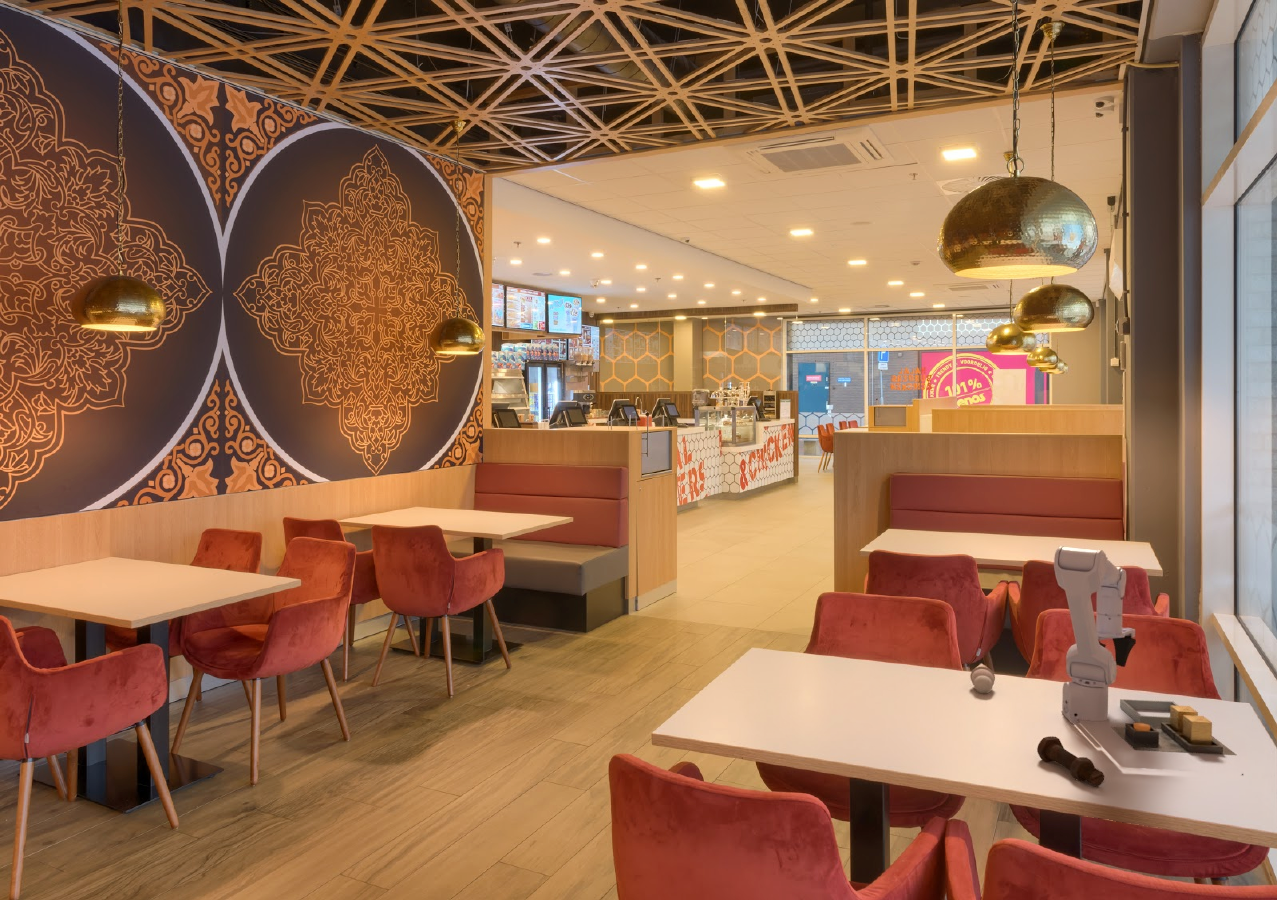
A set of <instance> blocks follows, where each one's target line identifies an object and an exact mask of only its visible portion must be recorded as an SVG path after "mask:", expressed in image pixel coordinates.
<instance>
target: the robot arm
mask: <svg viewBox="0 0 1277 900" xmlns="http://www.w3.org/2000/svg"><path fill="white" fill-rule="evenodd" d="M1053 560H1054V561H1053V568H1054V569H1053V570H1054V574H1055V579H1056V581H1057V582H1056V583H1057V585H1058V586H1059V587H1060V588H1061V589H1063V590H1064V592H1065V595H1066V600H1067V605H1068V609H1069V615H1070V620H1071V625H1072V630H1073V635H1074V638H1075V639H1074V640H1075V643H1074V644H1072V645H1071V646H1069V648H1068V650H1067V653H1066V656H1065V659H1066V661H1065V662H1066V663H1065V664H1066V666H1065V667H1066V668H1065V669H1066V674H1067V675H1068V677H1069V678H1071V681H1066V682H1063V685H1062V703H1061V704H1062V710H1061V711H1060V712H1061V714H1062V715H1063V716H1064V717H1065V718H1066V720H1067V721H1068V722H1070V724H1074V725H1075V724H1076V723H1081V722H1080V721H1079V720H1084V721H1091V722H1103V721H1107V720H1108V719H1109V686H1111V685H1113V684H1114V683H1115V681H1116V678H1117V673H1118V672H1117V671H1118V667H1117V666H1120V667H1121V668H1122V667H1123V668H1125V667H1126V665H1127V661H1128V658H1129V655H1130V653H1131V651H1132V649H1133V647H1134V646H1135V645H1136V644H1137V639H1135V637H1136V629H1135V628H1132V627H1123V602H1124V601H1123V600H1124V599H1123V598H1124V597H1125V593H1126V592H1125V591H1126V585H1127V571H1126V569H1123V567H1122V566H1115V564H1113V563H1112V562H1111V560H1109V559H1108V557H1107V554H1106V552H1105V551H1104V550H1102V549H1086V548H1078V547H1067V546H1066V547H1065V546H1058V548H1057V549H1056V550H1055V553H1054V557H1053ZM1094 593H1096V618H1095V612H1094V608H1093V602H1092V597H1091V596H1092V594H1094ZM1111 639H1112V642H1113V645H1114V652H1115V655H1114V656H1113V652H1112V651H1110V650H1109V649H1108V648H1106V646H1107V645H1106V644H1105V643H1102V642H1101V641H1102V640H1111ZM1114 658H1115V659H1114ZM1075 714H1076V715H1075Z"/></svg>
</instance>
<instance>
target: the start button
mask: <svg viewBox="0 0 1277 900" xmlns="http://www.w3.org/2000/svg"><path fill="white" fill-rule="evenodd" d="M1134 729H1135V730H1136V731H1150V726H1149V725H1147V724H1144V723H1137V722H1134Z"/></svg>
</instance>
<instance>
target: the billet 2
mask: <svg viewBox="0 0 1277 900" xmlns="http://www.w3.org/2000/svg"><path fill="white" fill-rule="evenodd" d="M1212 736H1213V722H1212V721H1211V720H1209V719H1208V718H1206V717H1205V716H1204V715H1198V716H1191V715H1183V739H1184V740H1186V741H1187V742H1188V743H1189V744H1191V745H1212Z"/></svg>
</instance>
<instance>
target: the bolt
mask: <svg viewBox="0 0 1277 900" xmlns="http://www.w3.org/2000/svg"><path fill="white" fill-rule="evenodd" d="M1036 749H1037V751H1036V752H1037V755H1038V756H1039V758H1040V759H1041V760H1042V761H1043V762H1044V763H1052V762H1054V763H1057V764H1058V765H1060V766H1062V767H1063V768H1065V769H1066V770H1067V771H1069V772H1070V774H1071V776H1072V777H1073V778H1075V780H1076V779H1077V780H1076V781H1078V782H1086V783H1088V784H1089V785H1091V786H1093V787H1099V786H1101V785H1102V784H1103V783H1104V782H1105V779H1106V778H1105V774H1104V772H1103V771H1101V770H1099V769H1098V768H1096V766H1095V765H1094V763H1093V761H1092V759H1090V758H1088V757H1085V756H1082V757H1078V756H1077V755H1075V754H1073V753H1072V752H1069V750H1067V749H1065V748H1064V746H1063V744H1062V742H1061V739H1060V738H1058V737H1056V736H1053V735H1052V736H1045V737H1043V738H1042V739H1040V741H1039V743H1038V745H1037V748H1036Z"/></svg>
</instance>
